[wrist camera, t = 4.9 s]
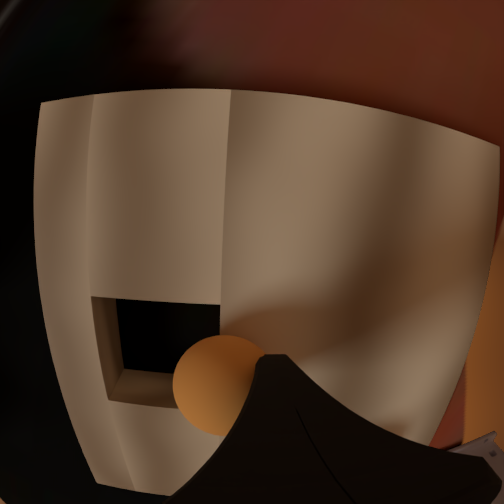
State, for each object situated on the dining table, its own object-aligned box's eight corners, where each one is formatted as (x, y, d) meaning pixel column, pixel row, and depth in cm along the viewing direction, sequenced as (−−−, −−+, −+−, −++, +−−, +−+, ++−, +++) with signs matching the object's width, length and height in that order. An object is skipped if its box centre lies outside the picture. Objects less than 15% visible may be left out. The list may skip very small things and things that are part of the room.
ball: (144, 342, 8) (221, 307, 11) (158, 419, 9) (221, 379, 12) (232, 397, 6) (304, 339, 9) (231, 472, 7) (291, 415, 10)
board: (465, 149, 12) (499, 146, 10) (397, 447, 16) (413, 472, 13) (71, 115, 11) (40, 103, 8) (107, 453, 14) (97, 482, 12)
